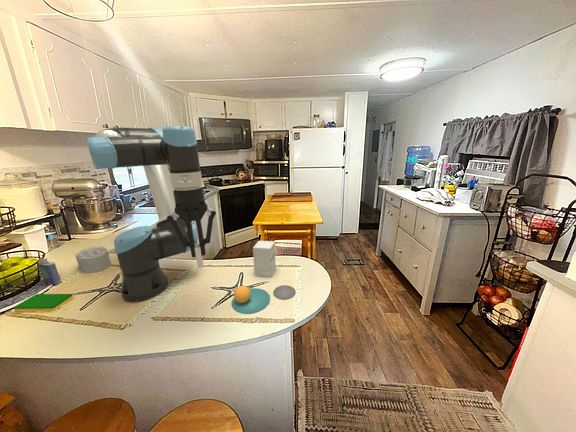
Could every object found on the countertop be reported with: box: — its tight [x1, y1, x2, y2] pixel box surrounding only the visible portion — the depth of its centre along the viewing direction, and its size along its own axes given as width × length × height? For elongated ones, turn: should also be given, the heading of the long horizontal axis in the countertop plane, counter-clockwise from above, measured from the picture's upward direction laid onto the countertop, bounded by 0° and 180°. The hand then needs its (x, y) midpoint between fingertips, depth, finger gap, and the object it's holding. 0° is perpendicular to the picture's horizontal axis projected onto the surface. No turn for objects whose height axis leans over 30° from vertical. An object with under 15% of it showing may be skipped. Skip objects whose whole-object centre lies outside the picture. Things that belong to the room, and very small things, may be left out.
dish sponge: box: [13, 293, 75, 312], centre depth 77 cm, size 7×14×2 cm, turn 88°
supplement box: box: [252, 240, 277, 278], centre depth 92 cm, size 7×7×13 cm
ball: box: [233, 285, 251, 303], centre depth 75 cm, size 6×6×6 cm
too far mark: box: [272, 284, 296, 301], centre depth 80 cm, size 8×8×1 cm
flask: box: [37, 257, 62, 286], centre depth 89 cm, size 9×3×11 cm, turn 68°
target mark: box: [231, 287, 271, 315], centre depth 76 cm, size 13×13×1 cm
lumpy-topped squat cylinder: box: [75, 245, 112, 274], centre depth 101 cm, size 10×13×9 cm
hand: (200, 265), depth 67 cm, fingers closed
